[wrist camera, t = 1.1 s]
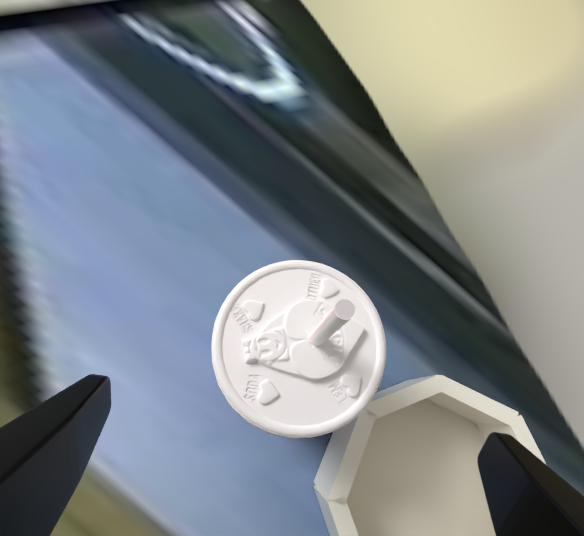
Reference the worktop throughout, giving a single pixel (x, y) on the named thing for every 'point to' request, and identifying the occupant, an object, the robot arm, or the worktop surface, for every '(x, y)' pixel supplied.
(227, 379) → the smoothie
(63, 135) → the worktop surface
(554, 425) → the worktop surface
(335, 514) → the bowl
